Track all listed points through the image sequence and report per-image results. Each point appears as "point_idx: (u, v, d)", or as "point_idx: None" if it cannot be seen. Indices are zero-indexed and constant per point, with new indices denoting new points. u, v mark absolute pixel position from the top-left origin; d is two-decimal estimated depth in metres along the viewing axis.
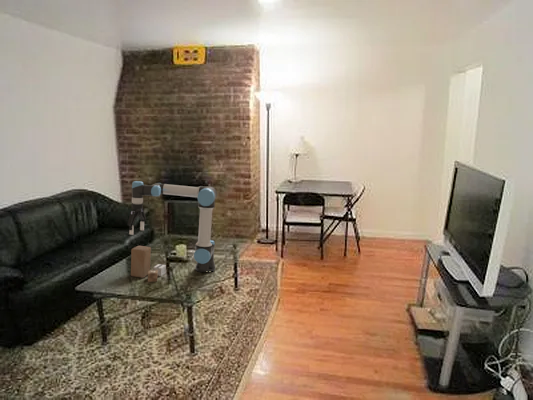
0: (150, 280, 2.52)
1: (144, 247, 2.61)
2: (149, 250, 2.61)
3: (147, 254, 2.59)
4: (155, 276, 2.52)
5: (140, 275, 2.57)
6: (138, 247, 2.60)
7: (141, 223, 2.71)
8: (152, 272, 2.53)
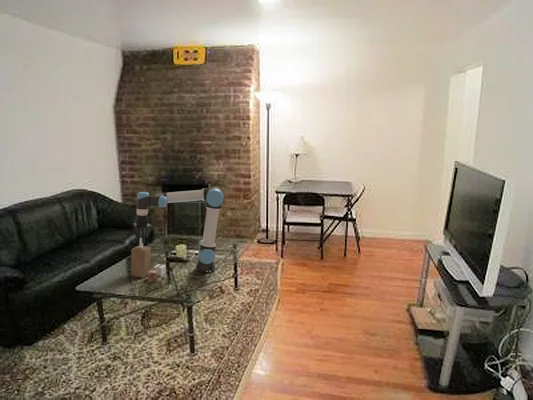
0: (150, 280, 2.52)
1: (144, 247, 2.61)
2: (149, 250, 2.61)
3: (147, 254, 2.59)
4: (155, 276, 2.52)
5: (140, 275, 2.57)
6: (138, 247, 2.60)
7: None
8: (152, 272, 2.53)
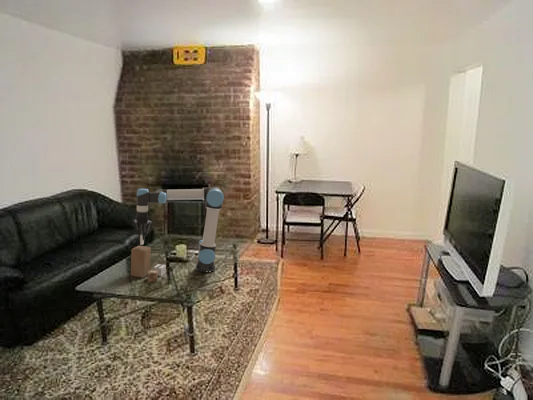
0: (150, 280, 2.52)
1: (144, 247, 2.61)
2: (149, 250, 2.61)
3: (147, 253, 2.59)
4: (155, 276, 2.52)
5: (140, 275, 2.57)
6: (138, 247, 2.60)
7: None
8: (152, 272, 2.53)
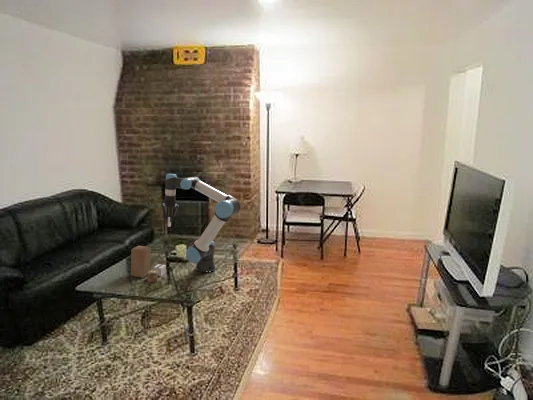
0: (150, 280, 2.52)
1: (144, 247, 2.61)
2: (149, 250, 2.61)
3: (147, 253, 2.59)
4: (155, 276, 2.52)
5: (140, 275, 2.57)
6: (138, 247, 2.60)
7: None
8: (152, 272, 2.53)
